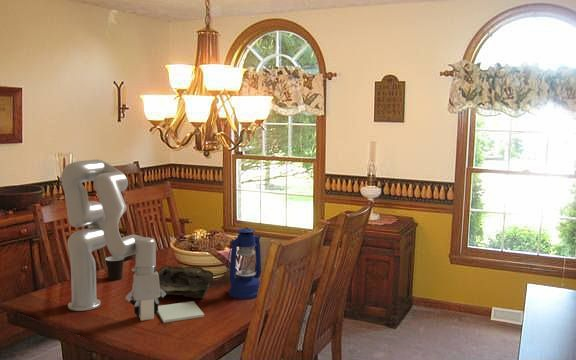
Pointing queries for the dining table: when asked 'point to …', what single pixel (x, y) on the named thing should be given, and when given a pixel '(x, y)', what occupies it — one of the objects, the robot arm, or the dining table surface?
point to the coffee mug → (114, 268)
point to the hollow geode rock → (185, 281)
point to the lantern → (244, 282)
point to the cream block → (146, 309)
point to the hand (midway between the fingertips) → (146, 313)
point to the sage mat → (179, 311)
